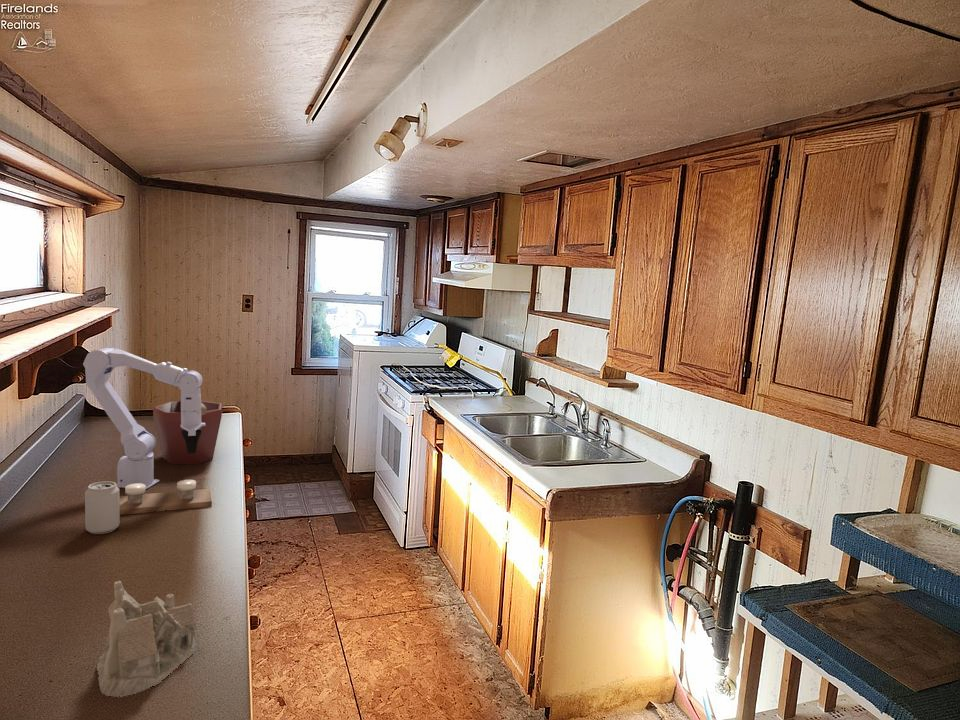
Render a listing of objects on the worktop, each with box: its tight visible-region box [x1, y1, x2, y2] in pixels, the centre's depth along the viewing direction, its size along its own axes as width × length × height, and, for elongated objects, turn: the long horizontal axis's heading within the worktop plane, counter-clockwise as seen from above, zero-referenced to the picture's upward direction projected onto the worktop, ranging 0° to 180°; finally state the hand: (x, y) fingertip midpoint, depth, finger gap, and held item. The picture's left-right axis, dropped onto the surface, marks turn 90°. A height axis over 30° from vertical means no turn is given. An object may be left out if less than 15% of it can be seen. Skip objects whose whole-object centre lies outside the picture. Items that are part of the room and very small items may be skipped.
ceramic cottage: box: [96, 580, 198, 697], centre depth 106 cm, size 16×16×15 cm
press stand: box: [119, 488, 213, 516], centre depth 176 cm, size 26×11×4 cm, turn 116°
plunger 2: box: [176, 479, 197, 491], centre depth 179 cm, size 5×5×4 cm
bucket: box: [152, 390, 223, 465], centre depth 218 cm, size 24×22×25 cm
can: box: [84, 480, 121, 535], centre depth 157 cm, size 8×8×12 cm
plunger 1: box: [124, 483, 147, 496], centre depth 173 cm, size 5×5×4 cm
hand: (191, 452), depth 192 cm, fingers closed
